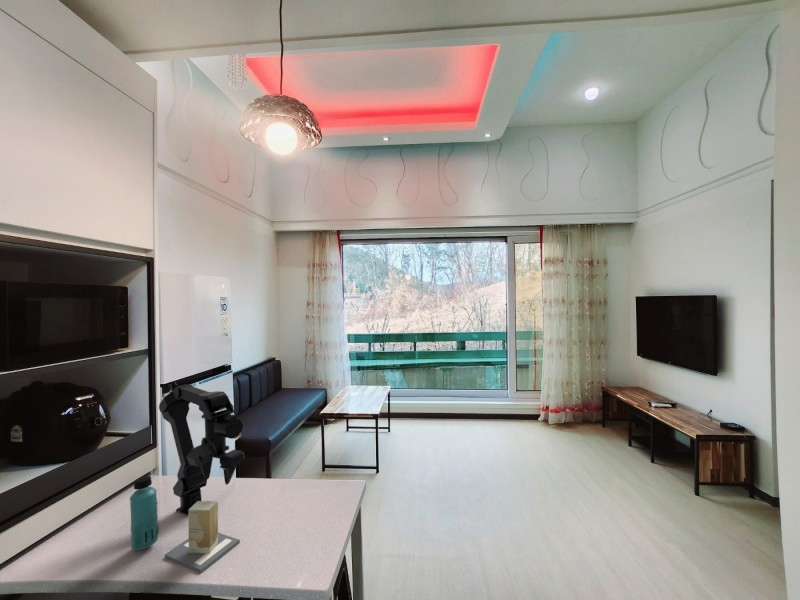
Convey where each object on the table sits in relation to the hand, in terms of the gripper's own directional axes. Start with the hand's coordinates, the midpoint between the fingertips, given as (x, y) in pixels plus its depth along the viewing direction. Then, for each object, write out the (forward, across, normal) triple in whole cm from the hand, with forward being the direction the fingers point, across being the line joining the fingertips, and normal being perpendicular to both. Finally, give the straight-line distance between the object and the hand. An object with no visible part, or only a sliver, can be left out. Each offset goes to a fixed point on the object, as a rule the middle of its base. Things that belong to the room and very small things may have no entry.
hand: (217, 481), depth 110 cm
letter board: (+13, +7, -10) cm, 18 cm away
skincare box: (+12, +8, -11) cm, 18 cm away
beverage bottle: (+13, -10, -16) cm, 23 cm away
